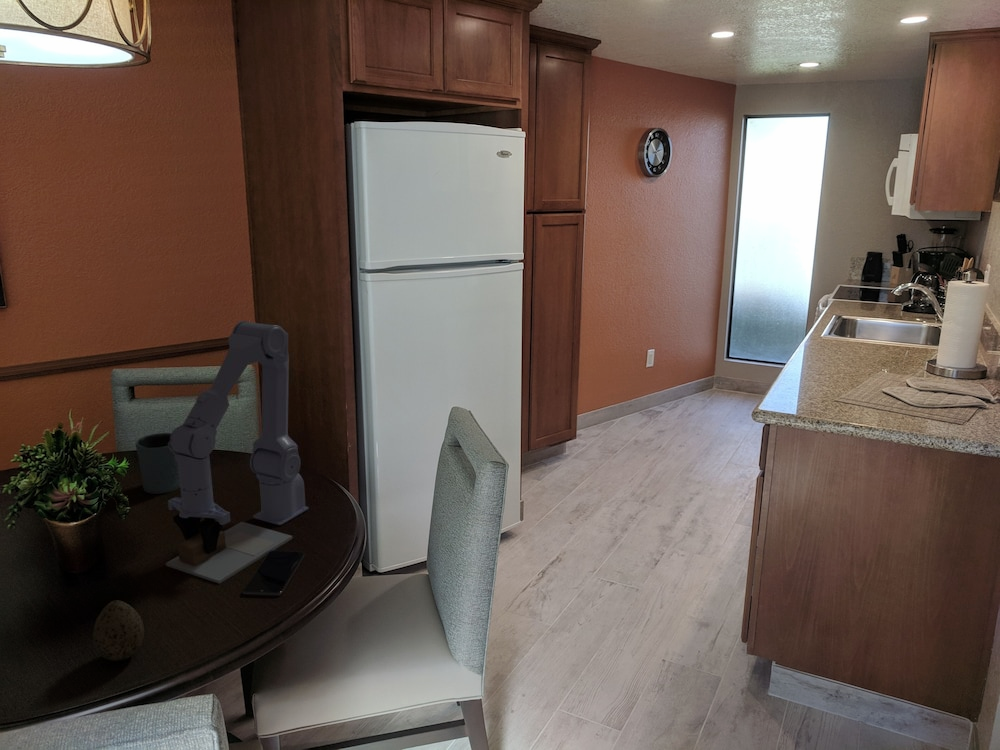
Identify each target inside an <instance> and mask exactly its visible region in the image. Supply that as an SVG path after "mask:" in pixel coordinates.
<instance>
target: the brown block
mask: <svg viewBox="0 0 1000 750" xmlns="http://www.w3.org/2000/svg"><path fill="white" fill-rule="evenodd" d="M224 548H226V543H225V532H224V531H222V530H221V531H220V534H219V537H218V542H217V547H216V550H215V551H214V552H212V553H210V554H206V552H205V549H204V545H203V539H202V536H201V534H200V533H199V534H197V535H195V536H193V537H191V538H189V539H187V540H184V541H182V542H180V543H178V544H177V551H178V556H179V561H182V562H185V563H188V564H191V565H194V566H195V565H196V564H198V563H200V562H202V561H203V560H205V559H207V558H209V557H210V556H212V555H214V554H216V553H217V552H219V551H221V550H223V549H224Z"/></svg>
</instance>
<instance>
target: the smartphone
mask: <svg viewBox="0 0 1000 750" xmlns="http://www.w3.org/2000/svg"><path fill="white" fill-rule="evenodd" d="M304 555H305V556H306V554H305V552H304V551H291V550H273V551H270V552H269V553H268V554H267V555H265V557H264V559H263V560H262V562H261V564H260V565H259V567H258V568H257V569H256V571H255V572H254V573H253V574H252V576H251V578H250V579H249V581H248V582H247V584H245V587H244V588H243V589H242V595H243V596H255V597H257V596H258V597H280V596H281V595H282V594H283V593H284V591H285V589H286V588H287V586H288V584H289V582H290V581H291V579H292V577H293V576H294V574H295V573H296V570H297V569H298V568H299V566H300V565H301V562H302V560H303V559H304V557H305V556H304Z"/></svg>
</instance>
